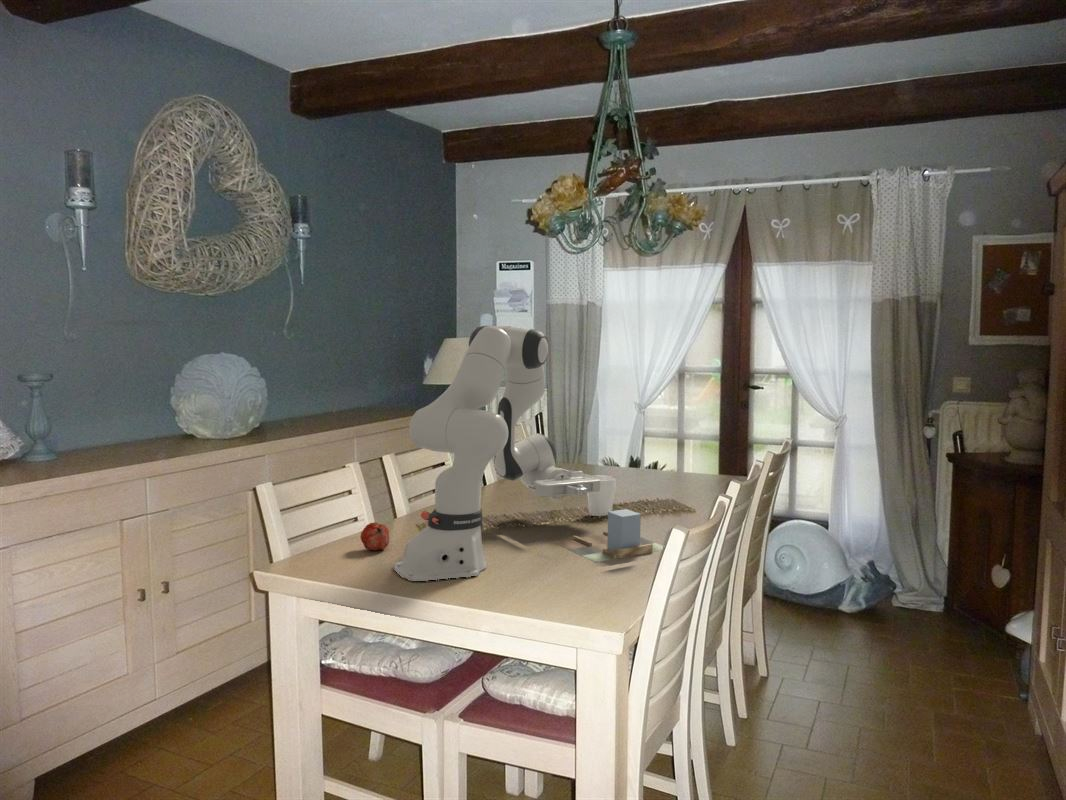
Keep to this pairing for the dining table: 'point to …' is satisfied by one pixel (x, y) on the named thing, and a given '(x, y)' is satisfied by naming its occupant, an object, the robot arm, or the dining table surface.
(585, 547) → the tray with wooden handles
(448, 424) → the robot arm
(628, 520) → the block
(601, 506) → the cup
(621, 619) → the dining table surface
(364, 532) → the pomegranate
